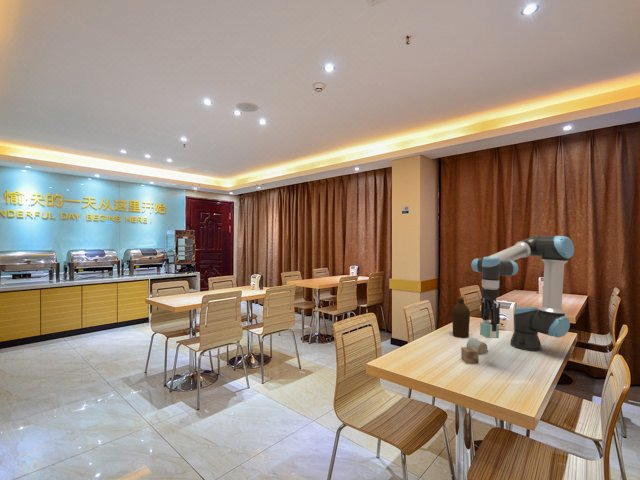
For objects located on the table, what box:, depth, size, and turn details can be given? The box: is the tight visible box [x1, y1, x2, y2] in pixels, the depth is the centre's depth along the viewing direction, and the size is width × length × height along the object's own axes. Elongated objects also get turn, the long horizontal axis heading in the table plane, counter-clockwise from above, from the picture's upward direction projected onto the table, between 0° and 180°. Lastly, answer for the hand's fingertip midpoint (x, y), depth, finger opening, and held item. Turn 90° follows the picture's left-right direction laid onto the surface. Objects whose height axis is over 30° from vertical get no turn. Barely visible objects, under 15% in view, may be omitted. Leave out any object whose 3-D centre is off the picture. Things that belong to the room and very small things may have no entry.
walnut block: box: [460, 346, 480, 365], centre depth 158 cm, size 6×6×6 cm
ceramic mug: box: [466, 337, 489, 355], centre depth 174 cm, size 11×8×8 cm
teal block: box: [479, 321, 500, 339], centre depth 155 cm, size 6×6×6 cm
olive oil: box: [451, 296, 471, 339], centre depth 204 cm, size 11×11×25 cm
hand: (489, 335), depth 155 cm, fingers closed on teal block, 6 cm apart
